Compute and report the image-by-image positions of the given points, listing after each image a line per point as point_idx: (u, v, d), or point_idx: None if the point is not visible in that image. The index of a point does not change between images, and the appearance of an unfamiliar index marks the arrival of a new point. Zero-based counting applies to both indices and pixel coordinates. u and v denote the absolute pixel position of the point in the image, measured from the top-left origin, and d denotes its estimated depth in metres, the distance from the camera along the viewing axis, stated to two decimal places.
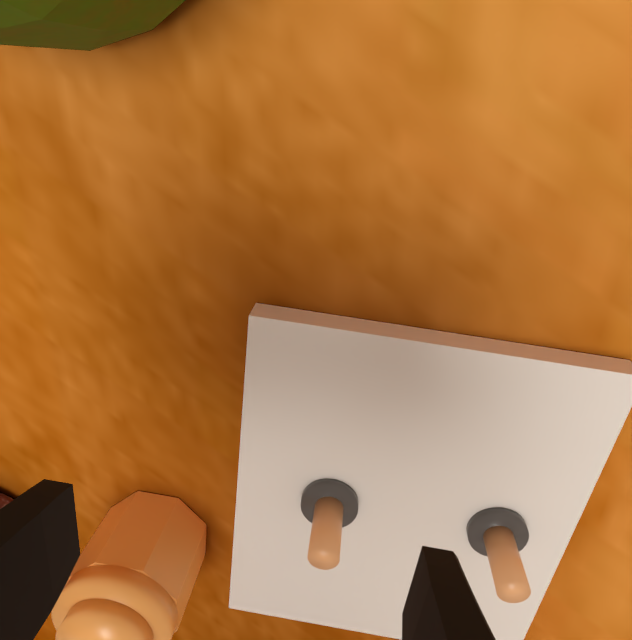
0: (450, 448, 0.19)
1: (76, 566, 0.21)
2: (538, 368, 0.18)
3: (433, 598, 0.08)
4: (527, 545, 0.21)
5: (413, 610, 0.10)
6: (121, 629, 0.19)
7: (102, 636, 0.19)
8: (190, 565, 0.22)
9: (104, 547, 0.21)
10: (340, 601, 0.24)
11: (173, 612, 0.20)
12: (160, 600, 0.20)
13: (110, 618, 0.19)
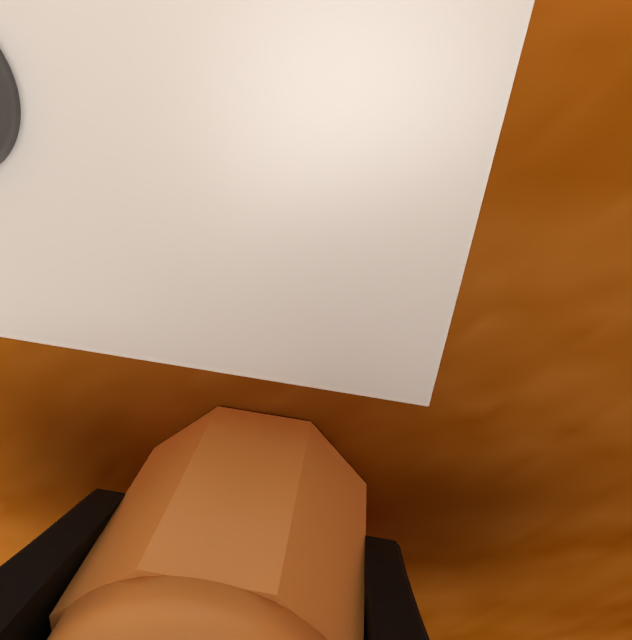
0: None
1: None
2: None
3: (367, 586, 0.08)
4: None
5: None
6: None
7: None
8: (180, 482, 0.09)
9: None
10: (369, 43, 0.06)
11: (151, 594, 0.07)
12: (84, 618, 0.07)
13: None
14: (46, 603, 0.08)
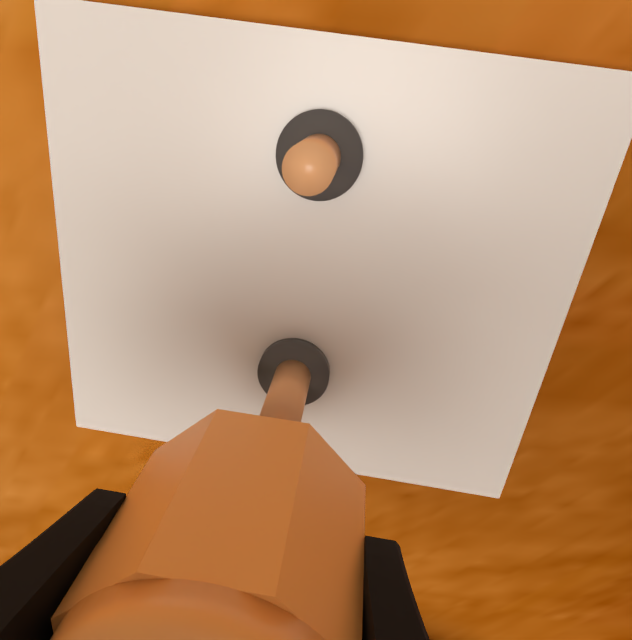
0: (191, 231, 0.15)
1: None
2: (58, 139, 0.15)
3: (367, 586, 0.08)
4: (348, 100, 0.13)
5: None
6: None
7: None
8: (179, 484, 0.09)
9: None
10: (484, 364, 0.16)
11: (151, 597, 0.07)
12: (85, 621, 0.07)
13: None
14: (46, 603, 0.08)
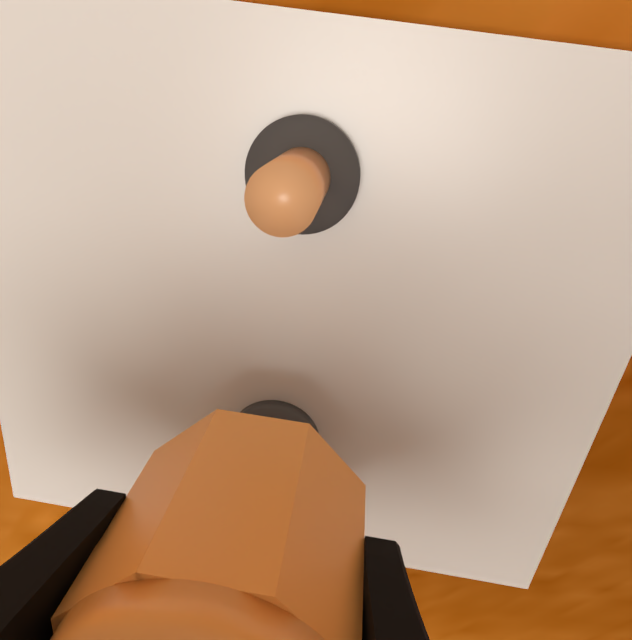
0: (140, 270, 0.12)
1: None
2: None
3: (367, 586, 0.08)
4: (340, 102, 0.10)
5: None
6: None
7: None
8: (179, 484, 0.09)
9: None
10: (514, 435, 0.13)
11: (151, 597, 0.07)
12: (85, 621, 0.07)
13: None
14: (46, 603, 0.08)
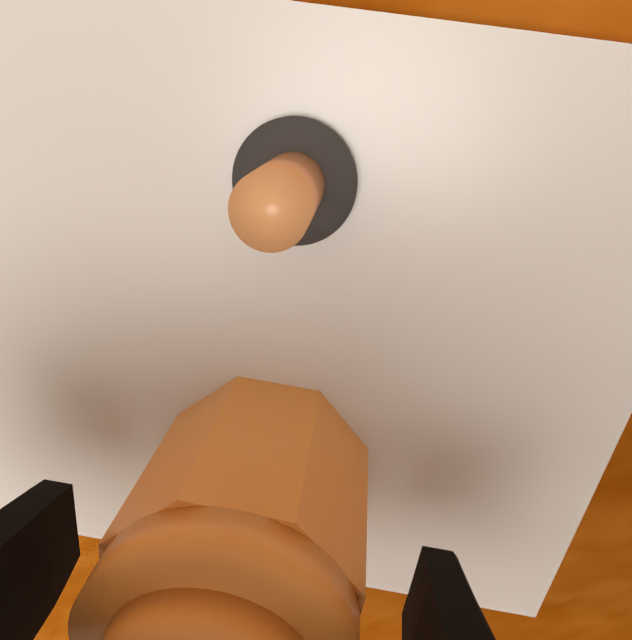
0: (122, 282, 0.11)
1: None
2: None
3: (433, 598, 0.08)
4: (336, 103, 0.09)
5: (413, 610, 0.10)
6: None
7: None
8: (209, 435, 0.10)
9: None
10: (522, 458, 0.12)
11: (191, 519, 0.08)
12: (134, 539, 0.08)
13: None
14: None
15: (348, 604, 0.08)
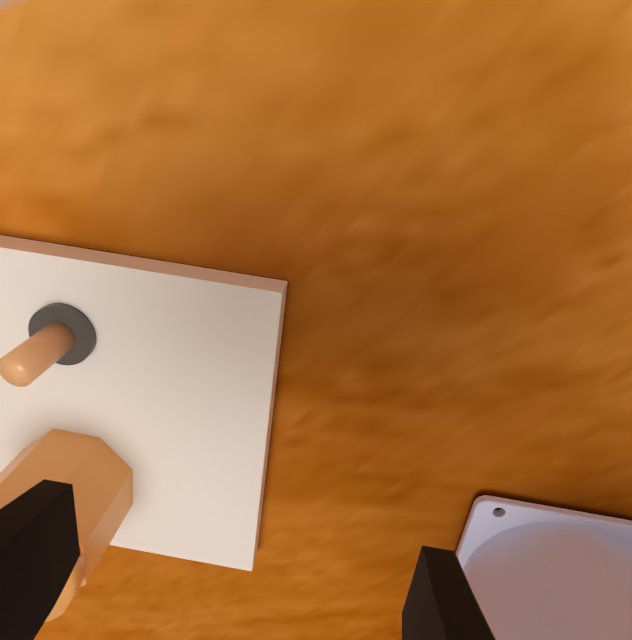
0: None
1: None
2: None
3: (433, 598, 0.08)
4: (77, 298, 0.18)
5: (413, 610, 0.10)
6: None
7: None
8: (18, 465, 0.19)
9: None
10: (216, 476, 0.21)
11: None
12: None
13: None
14: None
15: None
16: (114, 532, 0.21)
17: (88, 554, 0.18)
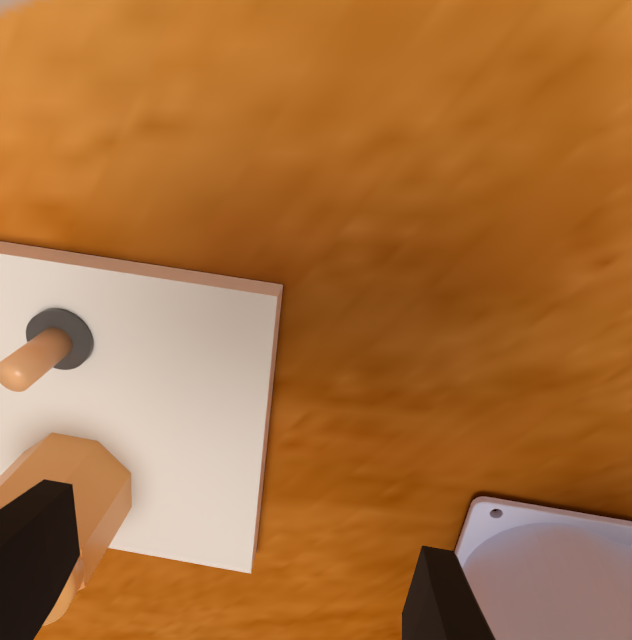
0: None
1: None
2: None
3: (433, 598, 0.08)
4: (74, 303, 0.18)
5: (413, 610, 0.10)
6: None
7: None
8: (16, 469, 0.19)
9: None
10: (214, 479, 0.21)
11: None
12: None
13: None
14: None
15: None
16: (113, 535, 0.21)
17: (86, 557, 0.18)
